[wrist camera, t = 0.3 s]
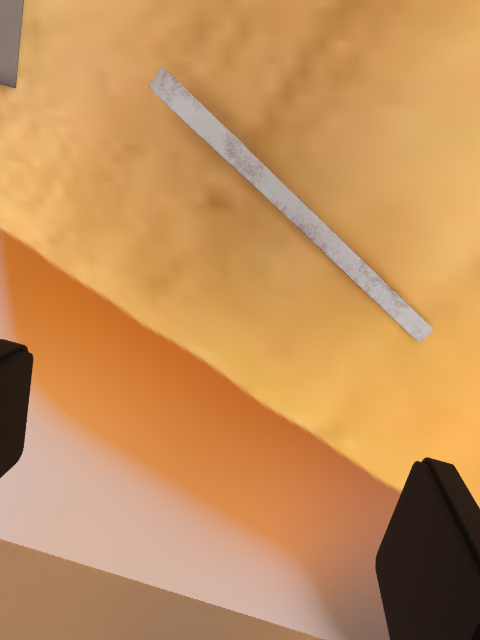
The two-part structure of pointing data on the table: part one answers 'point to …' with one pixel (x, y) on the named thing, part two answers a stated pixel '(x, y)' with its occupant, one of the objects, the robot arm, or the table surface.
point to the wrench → (285, 201)
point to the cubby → (9, 40)
